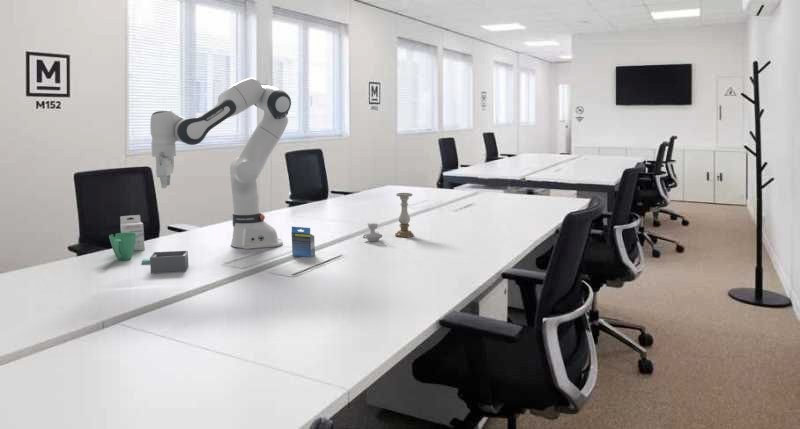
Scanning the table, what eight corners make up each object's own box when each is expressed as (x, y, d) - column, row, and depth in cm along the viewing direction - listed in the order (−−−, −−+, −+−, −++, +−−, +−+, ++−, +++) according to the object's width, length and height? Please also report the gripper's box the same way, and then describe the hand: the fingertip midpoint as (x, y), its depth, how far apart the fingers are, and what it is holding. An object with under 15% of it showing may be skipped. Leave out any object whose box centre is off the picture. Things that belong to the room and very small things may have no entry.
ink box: (123, 252, 263) (121, 217, 261) (121, 250, 267) (119, 216, 265) (145, 249, 268) (142, 216, 265) (142, 247, 272) (140, 214, 269)
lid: (188, 262, 247) (188, 255, 247) (185, 266, 240) (185, 260, 240) (144, 263, 244) (144, 257, 244) (140, 268, 237) (140, 262, 237)
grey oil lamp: (381, 239, 290) (381, 221, 289) (383, 242, 283) (383, 224, 282) (362, 240, 288) (361, 222, 287) (363, 242, 282) (363, 224, 281)
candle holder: (393, 237, 295) (393, 194, 291) (396, 233, 303) (396, 192, 300) (412, 237, 293) (412, 195, 290) (414, 234, 302) (414, 192, 299)
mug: (115, 256, 255) (113, 232, 253) (140, 256, 256) (138, 232, 255) (104, 265, 240) (102, 239, 239) (130, 264, 242) (129, 239, 240)
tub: (188, 267, 236) (187, 250, 235) (185, 273, 228) (184, 255, 226) (155, 269, 234) (154, 252, 233) (151, 275, 225) (149, 257, 224)
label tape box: (315, 255, 257) (314, 226, 255) (310, 257, 253) (310, 227, 251) (296, 253, 260) (295, 224, 258) (291, 255, 256) (290, 226, 254)
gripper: (168, 153, 236) (170, 189, 238) (175, 150, 256) (177, 183, 258) (150, 153, 235) (153, 190, 237) (159, 150, 254) (161, 184, 256)
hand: (165, 186), depth 247 cm, fingers open, 8 cm apart
